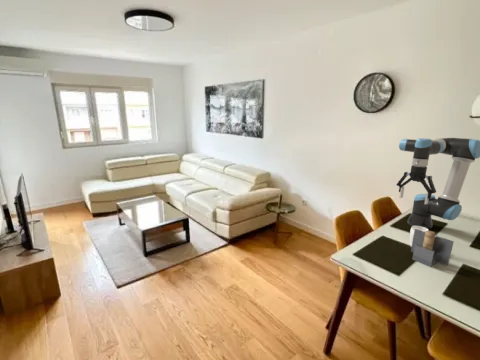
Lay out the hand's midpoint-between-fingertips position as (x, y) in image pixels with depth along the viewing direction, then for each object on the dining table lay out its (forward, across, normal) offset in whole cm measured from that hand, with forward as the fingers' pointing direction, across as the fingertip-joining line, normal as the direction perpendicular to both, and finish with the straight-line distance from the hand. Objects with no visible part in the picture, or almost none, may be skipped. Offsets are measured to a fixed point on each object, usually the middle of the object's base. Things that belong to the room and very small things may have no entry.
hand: (413, 200), depth 156 cm
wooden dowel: (+26, +15, -11) cm, 32 cm away
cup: (+29, +5, +2) cm, 29 cm away
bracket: (+29, +15, -11) cm, 34 cm away
